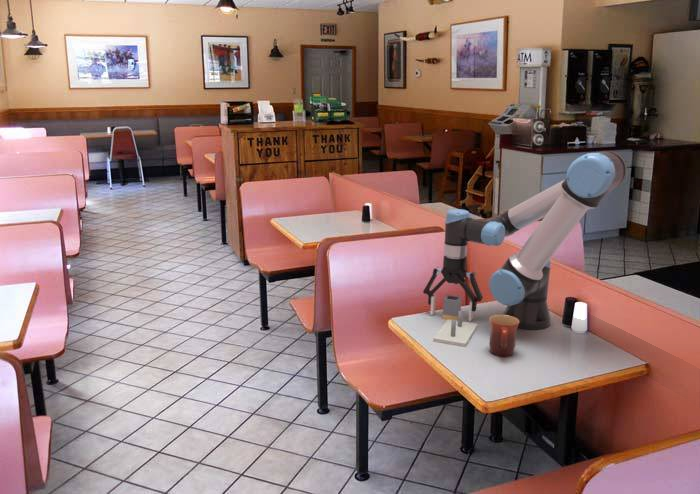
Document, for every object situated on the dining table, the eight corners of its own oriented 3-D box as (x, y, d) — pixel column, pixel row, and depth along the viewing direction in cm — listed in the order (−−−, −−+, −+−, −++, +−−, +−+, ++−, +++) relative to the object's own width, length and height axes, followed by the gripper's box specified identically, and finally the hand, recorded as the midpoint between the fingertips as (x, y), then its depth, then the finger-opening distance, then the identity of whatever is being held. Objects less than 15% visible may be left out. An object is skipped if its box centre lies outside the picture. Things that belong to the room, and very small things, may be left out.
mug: (486, 345, 193) (488, 313, 191) (515, 348, 192) (518, 316, 189) (486, 361, 182) (489, 327, 179) (518, 364, 180) (521, 330, 178)
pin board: (477, 326, 208) (478, 309, 206) (465, 346, 192) (466, 328, 190) (447, 322, 212) (448, 305, 210) (433, 341, 195) (434, 322, 194)
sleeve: (460, 316, 217) (461, 296, 216) (456, 320, 213) (458, 301, 211) (446, 313, 219) (447, 294, 218) (442, 318, 215) (443, 298, 213)
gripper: (494, 257, 210) (489, 318, 215) (422, 249, 219) (419, 307, 224) (490, 263, 203) (485, 326, 208) (416, 254, 212) (413, 314, 217)
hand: (451, 316), depth 216 cm, fingers open, 12 cm apart
